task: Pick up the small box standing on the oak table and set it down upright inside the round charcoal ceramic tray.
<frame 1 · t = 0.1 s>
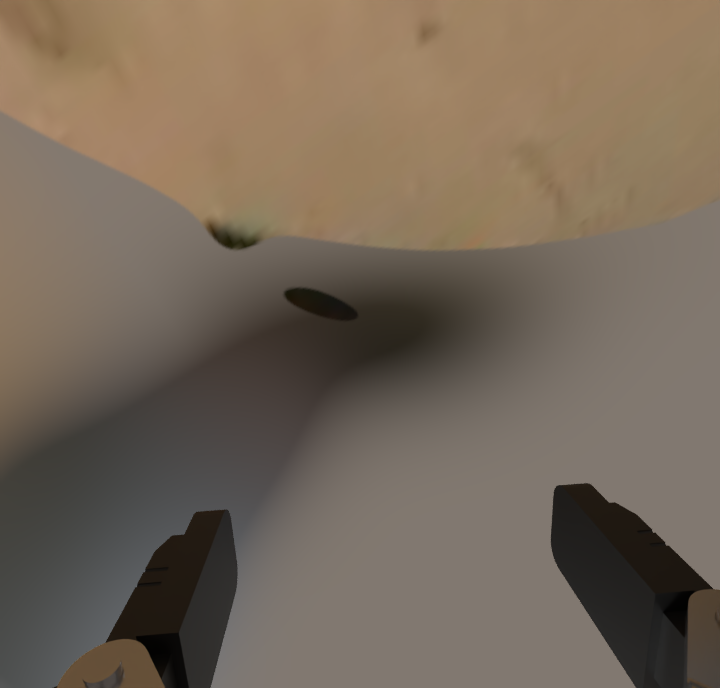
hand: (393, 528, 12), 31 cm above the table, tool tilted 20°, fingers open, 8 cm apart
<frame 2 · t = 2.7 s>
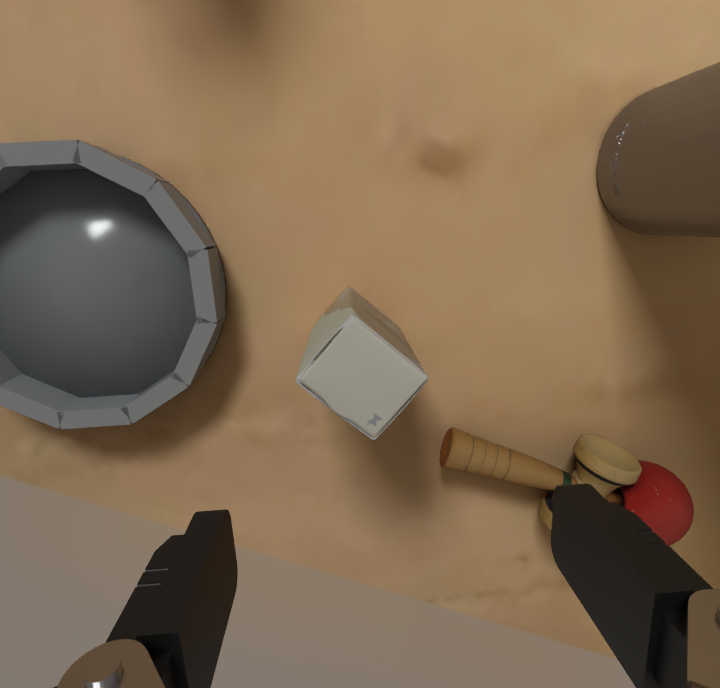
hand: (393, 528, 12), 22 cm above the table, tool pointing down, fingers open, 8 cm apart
round tray: (94, 287, 31), on the table
kendama: (546, 464, 37), on the table
box: (354, 329, 33), on the table
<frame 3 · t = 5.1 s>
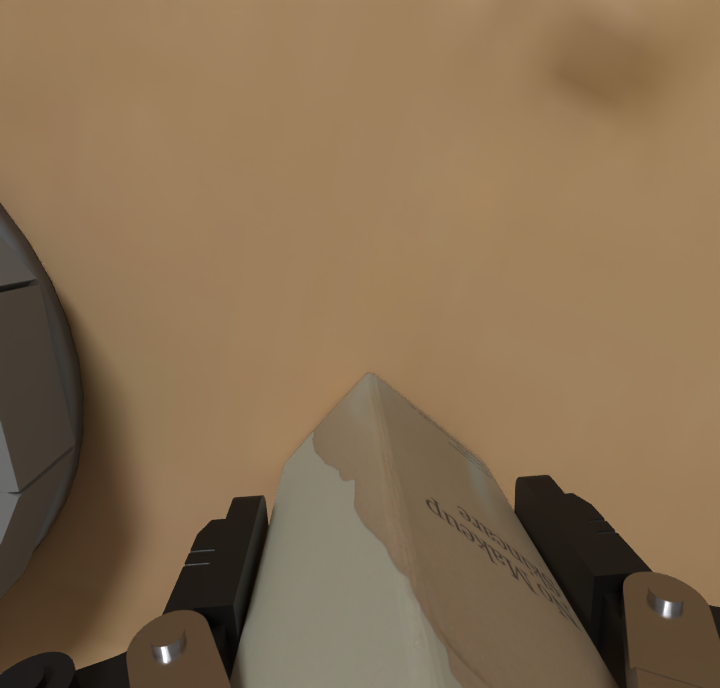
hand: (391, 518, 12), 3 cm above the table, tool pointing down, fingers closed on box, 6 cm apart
box: (380, 461, 15), on the table, touching gripper
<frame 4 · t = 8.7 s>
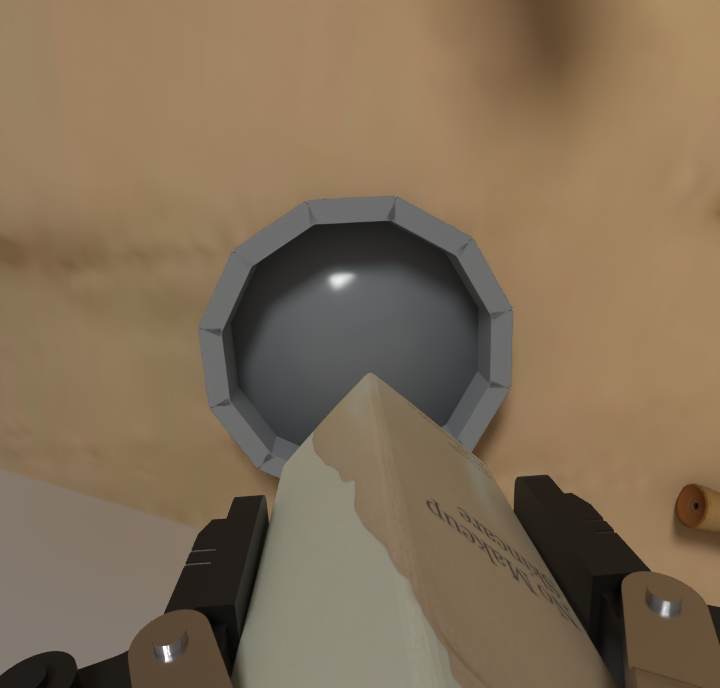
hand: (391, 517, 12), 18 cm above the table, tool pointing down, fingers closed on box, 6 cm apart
round tray: (357, 344, 29), on the table
box: (380, 462, 15), point 15 cm above the table, touching gripper
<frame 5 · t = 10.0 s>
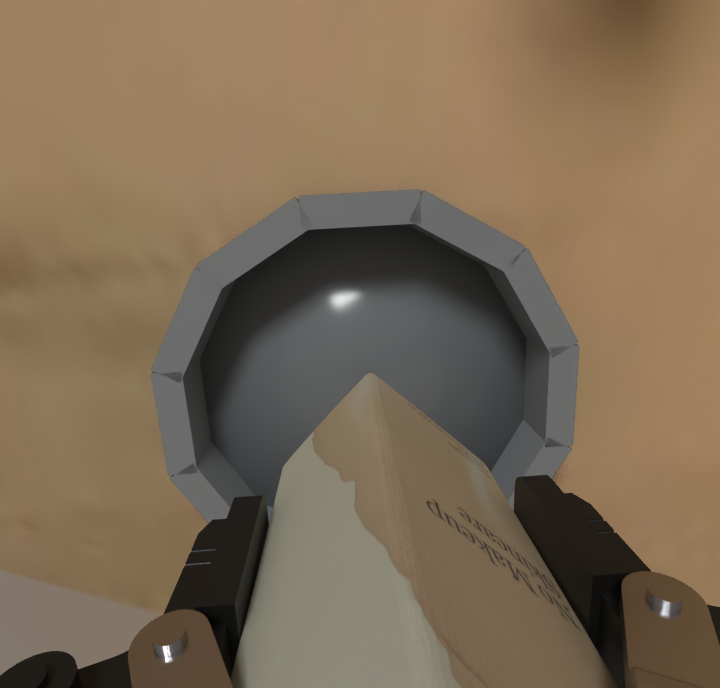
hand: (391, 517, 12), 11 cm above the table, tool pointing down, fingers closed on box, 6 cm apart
round tray: (366, 385, 22), on the table
box: (380, 462, 15), point 8 cm above the table, touching gripper
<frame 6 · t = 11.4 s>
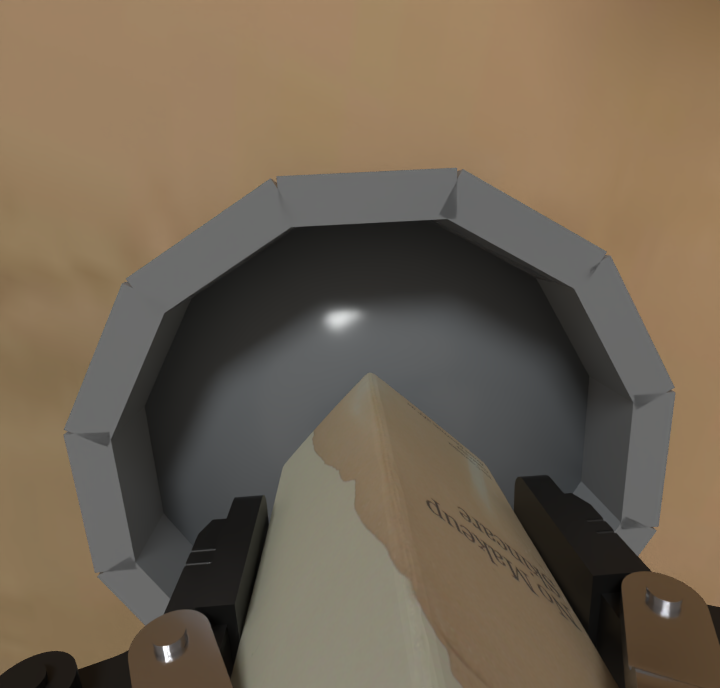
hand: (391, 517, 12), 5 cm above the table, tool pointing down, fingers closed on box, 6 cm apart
round tray: (372, 435, 17), on the table
box: (380, 461, 15), point 2 cm above the table, touching gripper
when the fingers open (5 cm above the table, at t = 12.0 s): box drops 1 cm, resting on round tray.
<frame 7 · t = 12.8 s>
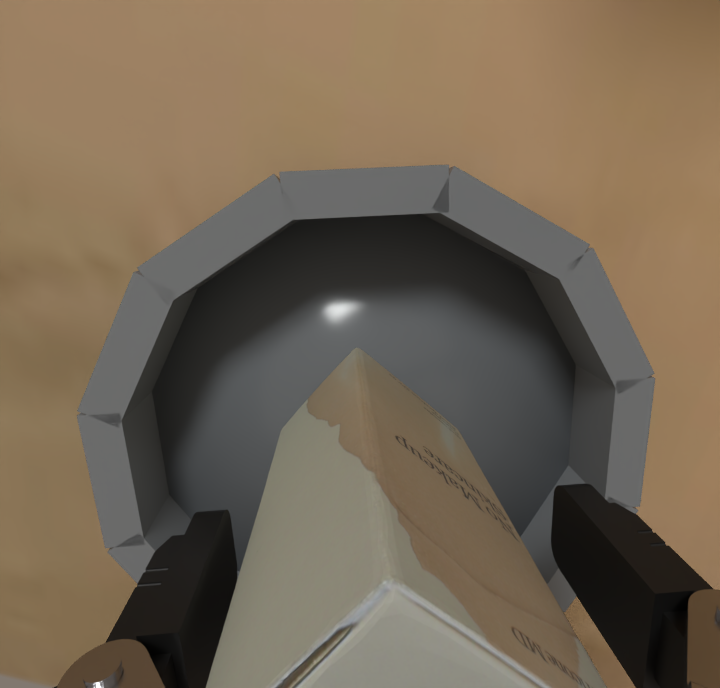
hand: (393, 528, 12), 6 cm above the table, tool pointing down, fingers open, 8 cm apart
round tray: (368, 421, 17), on the table
box: (366, 427, 17), point 1 cm above the table, touching round tray
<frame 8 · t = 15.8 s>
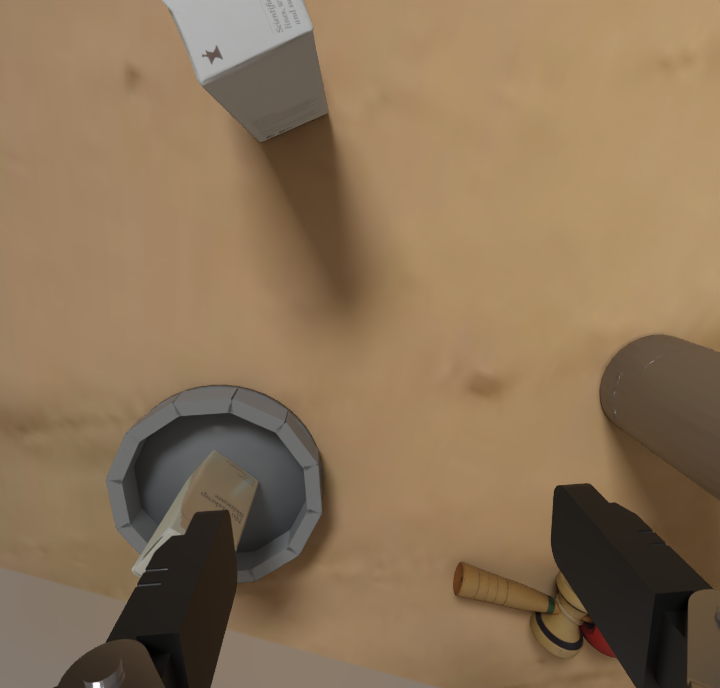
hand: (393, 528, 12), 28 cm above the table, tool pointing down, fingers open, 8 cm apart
round tray: (225, 476, 42), on the table
kendama: (536, 583, 47), on the table
box: (222, 480, 41), point 1 cm above the table, touching round tray
skincare box: (269, 72, 34), on the table
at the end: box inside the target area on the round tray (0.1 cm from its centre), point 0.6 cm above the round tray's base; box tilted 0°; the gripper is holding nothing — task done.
